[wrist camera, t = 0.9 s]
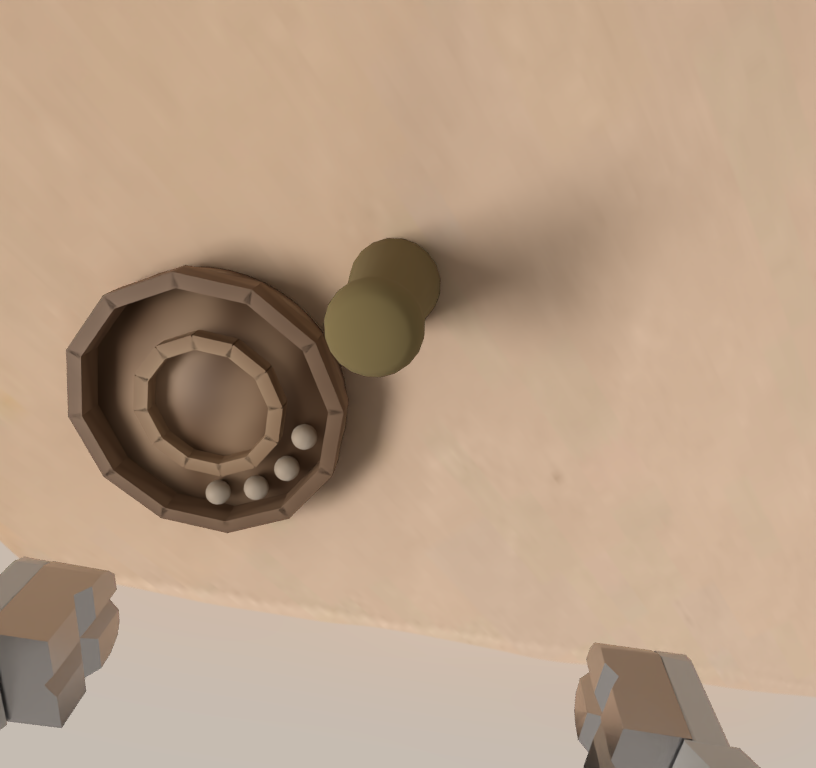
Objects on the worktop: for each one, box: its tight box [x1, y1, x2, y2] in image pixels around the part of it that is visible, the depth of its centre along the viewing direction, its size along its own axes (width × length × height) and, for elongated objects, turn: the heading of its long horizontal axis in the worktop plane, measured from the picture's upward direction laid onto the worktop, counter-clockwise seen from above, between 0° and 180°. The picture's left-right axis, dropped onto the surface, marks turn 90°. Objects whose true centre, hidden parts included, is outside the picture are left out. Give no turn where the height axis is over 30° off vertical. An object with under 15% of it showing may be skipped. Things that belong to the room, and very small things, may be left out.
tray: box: [66, 265, 349, 533], centre depth 43 cm, size 19×19×3 cm
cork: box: [324, 238, 440, 377], centre depth 35 cm, size 6×6×11 cm
